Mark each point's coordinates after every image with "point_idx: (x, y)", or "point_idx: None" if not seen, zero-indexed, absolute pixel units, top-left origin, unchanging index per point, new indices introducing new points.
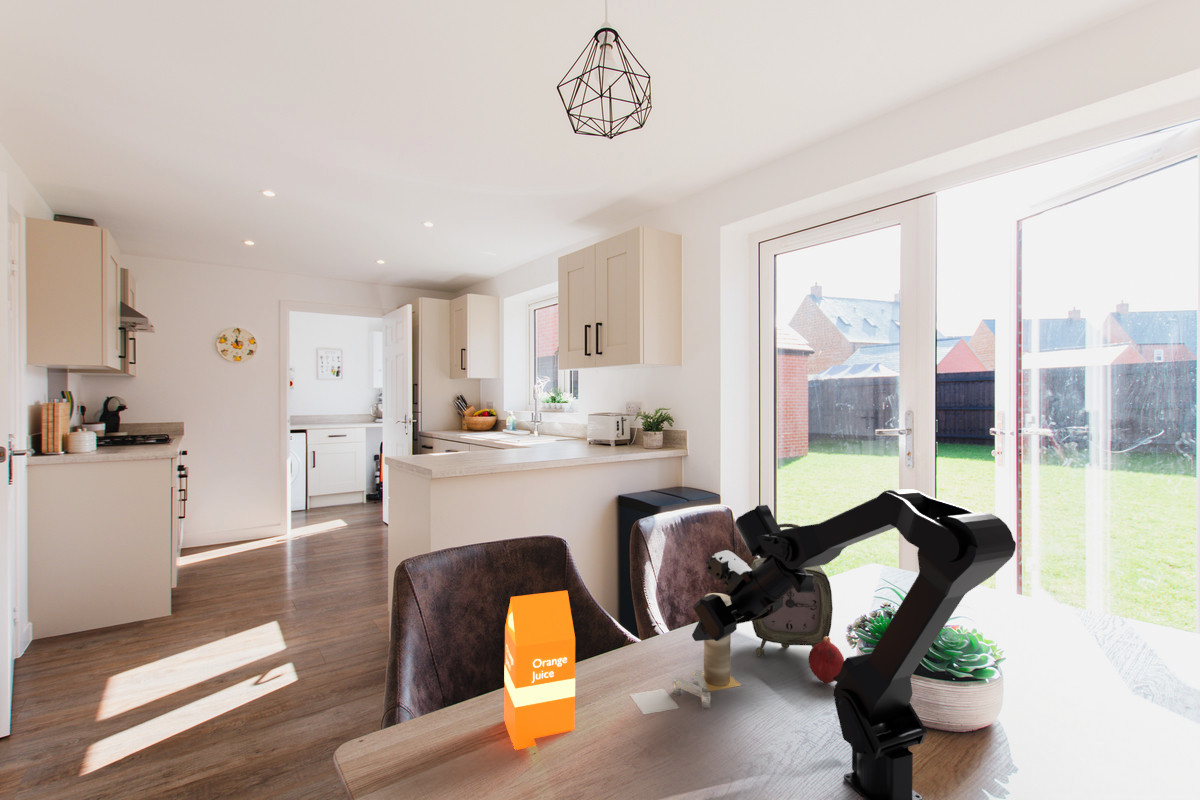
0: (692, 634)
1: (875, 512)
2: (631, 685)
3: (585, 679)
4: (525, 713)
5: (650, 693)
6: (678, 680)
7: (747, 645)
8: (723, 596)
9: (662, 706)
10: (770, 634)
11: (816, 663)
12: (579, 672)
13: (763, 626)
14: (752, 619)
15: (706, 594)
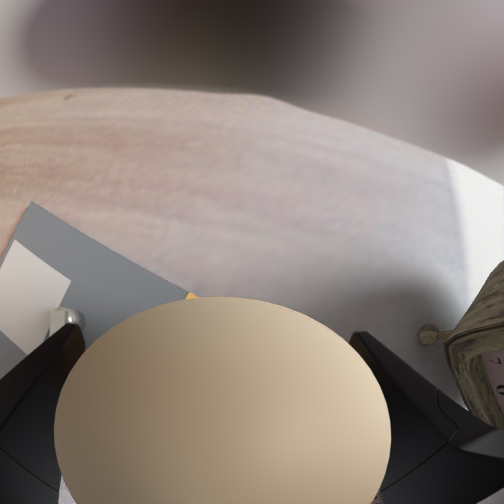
0: (63, 326)
1: None
2: (72, 202)
3: (50, 131)
4: None
5: (38, 272)
6: (51, 328)
7: (440, 280)
8: (319, 488)
9: (17, 327)
10: (464, 370)
11: None
12: (68, 107)
13: (473, 356)
14: (383, 492)
15: (209, 297)
